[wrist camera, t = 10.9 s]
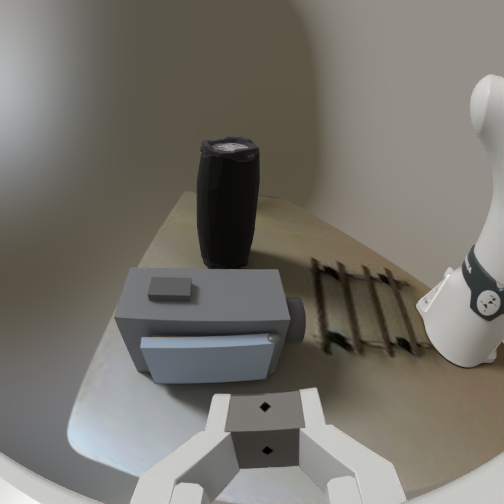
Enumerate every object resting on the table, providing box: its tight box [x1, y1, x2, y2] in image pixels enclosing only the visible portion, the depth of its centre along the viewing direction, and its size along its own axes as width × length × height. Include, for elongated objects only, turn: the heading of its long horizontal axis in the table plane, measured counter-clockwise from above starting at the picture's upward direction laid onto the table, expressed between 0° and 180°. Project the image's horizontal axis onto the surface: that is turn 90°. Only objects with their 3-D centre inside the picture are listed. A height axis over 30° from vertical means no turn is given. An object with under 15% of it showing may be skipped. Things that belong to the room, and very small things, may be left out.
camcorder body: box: [114, 268, 306, 373], centre depth 30 cm, size 19×7×11 cm, turn 95°
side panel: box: [140, 332, 280, 383], centre depth 26 cm, size 13×1×7 cm, turn 98°
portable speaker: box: [197, 137, 260, 269], centre depth 42 cm, size 9×9×20 cm
